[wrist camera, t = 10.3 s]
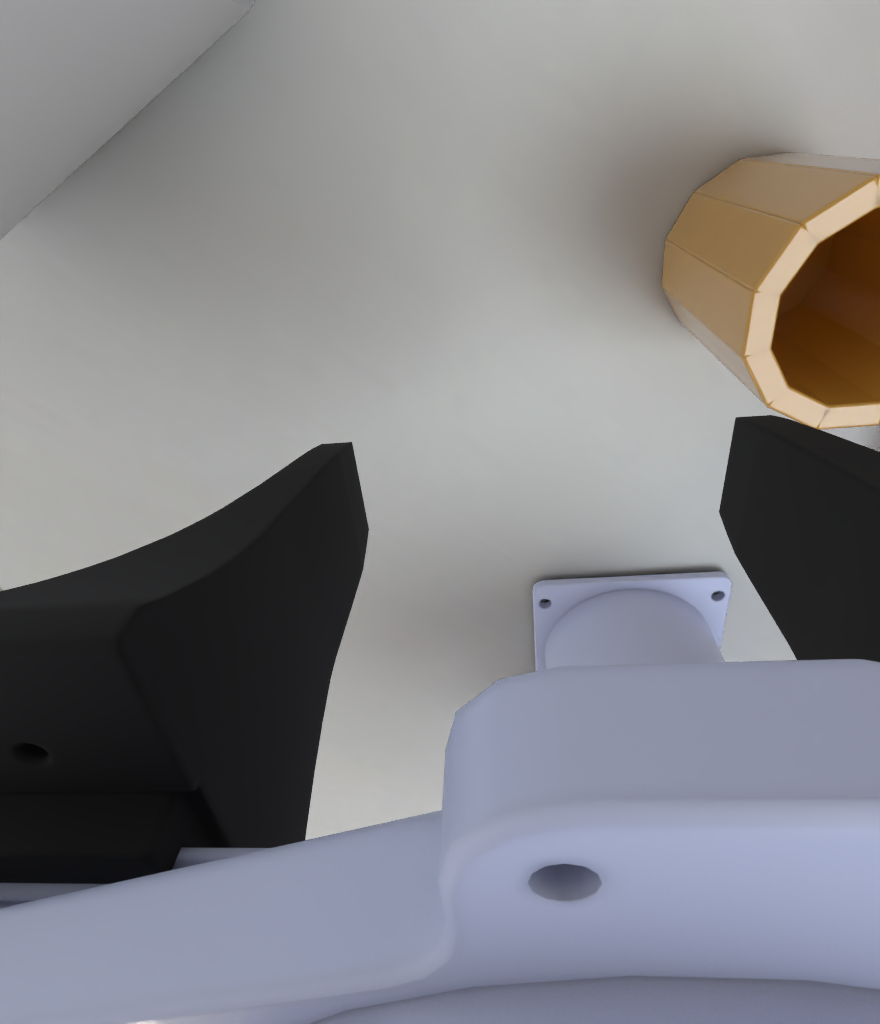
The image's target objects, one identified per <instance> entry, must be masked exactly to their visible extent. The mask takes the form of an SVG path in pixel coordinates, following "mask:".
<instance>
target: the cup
mask: <svg viewBox="0 0 880 1024" xmlns="http://www.w3.org/2000/svg"><path fill="white" fill-rule="evenodd" d="M662 287H663V291H664V293H665V294H666V296H667V298H668V300H669V302H670V304H671V306H672V308H673V310H674V312H675V314H676V316H677V317H678V319H679V321H680V323H682V325H683V326H684V327H686V328H687V329H688V330H689V331H690V332H691V333H692V334H693V335H694V336H695V337H696V338H697V339H698V340H699V341H700V342H701V343H702V344H703V345H704V346H705V347H706V348H707V349H708V350H709V351H710V352H711V353H712V354H713V355H714V356H715V357H716V358H717V359H718V360H719V361H720V362H721V363H722V364H723V365H724V366H726V367H727V368H728V369H729V370H730V371H731V372H732V373H733V374H734V375H735V376H736V377H737V378H738V379H739V380H740V381H741V382H742V383H743V384H744V385H745V386H746V387H747V388H748V389H749V390H750V391H751V392H752V393H753V394H754V395H755V396H756V397H757V398H758V399H759V400H760V401H761V402H762V403H763V404H765V405H766V406H767V407H768V408H770V409H772V410H774V411H776V412H778V413H781V414H783V415H785V416H787V417H789V418H791V419H793V420H795V421H797V422H799V423H802V424H805V425H808V426H810V427H813V428H816V429H833V428H846V427H860V426H874V425H879V424H880V159H869V158H856V157H843V156H830V155H817V154H804V153H791V152H790V153H782V154H774V155H766V156H757V157H749V158H743V159H742V160H738V161H737V162H735V163H734V164H732V165H731V166H730V167H728V168H727V169H725V170H724V171H722V172H721V173H720V174H718V175H717V176H715V177H714V178H712V179H711V180H710V181H708V182H707V183H705V184H704V185H702V186H701V187H699V188H698V189H697V190H696V191H695V192H694V193H693V194H692V195H691V197H690V199H689V200H688V202H687V204H686V206H685V207H684V209H683V211H682V212H681V214H680V216H679V217H678V219H677V221H676V222H675V224H674V226H673V227H672V229H671V231H670V232H669V234H668V236H667V239H666V240H665V250H664V262H663V275H662Z"/></svg>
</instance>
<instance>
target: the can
mask: <svg viewBox="0 0 880 1024" xmlns="http://www.w3.org/2000/svg"><path fill="white" fill-rule="evenodd" d="M254 1H255V0H0V239H2V238H3V237H4V236H5V235H6V234H7V233H8V232H9V231H10V230H11V229H12V228H14V227H15V226H16V225H17V224H18V223H19V222H20V221H21V220H22V219H23V218H24V217H26V216H27V215H28V214H29V213H30V212H31V211H32V210H33V209H34V208H35V207H36V206H37V205H39V204H40V203H41V202H42V201H43V200H44V199H45V198H46V197H47V196H48V195H49V194H51V193H52V192H53V191H54V190H55V189H56V188H57V187H58V186H59V185H60V184H61V183H63V182H64V181H65V180H66V179H67V178H68V177H69V176H70V175H71V174H72V173H73V172H75V171H76V170H77V169H78V168H79V167H80V166H81V165H82V164H83V163H84V162H85V161H86V160H88V159H89V158H90V157H91V156H92V155H93V154H94V153H95V152H96V151H97V150H98V149H100V148H101V147H102V146H103V145H104V144H105V143H106V142H107V141H108V140H109V139H110V138H112V137H113V136H114V135H115V134H116V133H117V132H118V131H119V130H120V129H121V128H122V127H124V126H125V125H126V124H127V123H128V122H129V121H130V120H131V119H132V118H133V117H134V116H136V115H137V114H138V113H139V112H140V111H141V110H142V109H143V108H144V107H145V106H146V105H147V104H149V103H150V102H151V101H152V100H153V99H154V98H155V97H156V96H157V95H158V94H159V93H161V92H162V91H163V90H164V89H165V88H166V87H167V86H168V85H169V84H170V83H171V82H173V81H174V80H175V79H176V78H177V77H178V76H179V75H180V74H181V73H182V72H183V71H185V70H186V69H187V68H188V67H189V66H190V65H191V64H192V63H193V62H194V61H195V60H196V59H198V58H199V57H200V56H201V55H202V54H203V53H204V52H205V51H206V50H207V49H208V48H210V47H211V46H212V45H213V44H214V43H215V42H216V41H217V40H218V39H219V38H220V37H222V36H223V35H224V34H225V33H226V32H227V31H228V30H229V29H230V28H231V27H232V26H234V25H235V24H236V23H237V22H238V21H239V20H240V19H241V18H242V17H243V16H244V15H245V14H247V13H248V12H249V11H250V9H251V7H252V5H253V3H254Z"/></svg>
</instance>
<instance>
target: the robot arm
mask: <svg viewBox="0 0 880 1024" xmlns="http://www.w3.org/2000/svg"><path fill="white" fill-rule="evenodd" d="M719 513H720V516H721V518H722V521H723V524H724V527H725V530H726V532H727V535H728V537H729V540H730V542H731V545H732V547H733V550H734V552H735V554H736V556H737V558H738V560H739V561H740V563H741V565H742V567H743V568H744V570H745V572H746V574H747V575H748V577H749V579H750V580H751V582H752V584H753V585H754V587H755V589H756V590H757V592H758V594H759V595H760V597H761V599H762V600H763V602H764V604H765V605H766V607H767V609H768V610H769V612H770V614H771V615H772V617H773V619H774V620H775V622H776V624H777V625H778V627H779V629H780V630H781V632H782V634H783V635H784V637H785V639H786V640H787V642H788V644H789V646H790V647H791V649H792V651H793V653H794V655H795V657H796V659H797V660H789V661H750V662H725V660H724V658H723V656H722V654H721V652H720V647H721V642H722V636H723V631H724V626H725V620H726V615H727V610H728V604H729V599H730V594H731V588H732V581H731V579H730V577H729V576H728V575H727V574H726V573H724V572H699V573H679V574H659V575H638V576H618V577H598V578H578V579H558V580H543V581H539V582H537V583H536V584H535V585H534V586H533V590H532V592H533V618H534V644H535V672H531V673H526V674H521V675H517V676H512V677H507V678H503V679H500V680H498V681H496V682H495V683H494V684H492V685H491V686H490V687H488V688H487V689H486V690H484V691H483V692H482V693H480V694H479V695H478V696H476V697H475V698H474V699H472V700H471V701H470V702H468V703H467V704H466V705H464V706H463V707H462V708H460V709H459V710H458V711H456V713H455V717H454V721H453V724H452V728H451V732H450V735H449V739H448V743H447V746H446V750H445V767H444V784H443V802H442V810H441V811H436V812H432V813H427V814H423V815H418V816H414V817H409V818H404V819H400V820H395V821H391V822H386V823H382V824H377V825H373V826H368V827H364V828H359V829H355V830H350V831H346V832H341V833H337V834H332V835H328V836H323V837H319V838H314V839H310V840H305V836H306V828H307V821H308V814H309V807H310V800H311V792H312V785H313V778H314V771H315V765H316V759H317V753H318V746H319V740H320V734H321V728H322V722H323V717H324V711H325V706H326V700H327V695H328V690H329V684H330V679H331V675H332V671H333V667H334V663H335V659H336V656H337V652H338V649H339V646H340V643H341V640H342V636H343V633H344V630H345V627H346V624H347V620H348V617H349V614H350V611H351V607H352V604H353V601H354V598H355V594H356V591H357V588H358V584H359V581H360V578H361V574H362V571H363V566H364V560H365V553H366V546H367V539H368V531H369V528H368V523H367V518H366V512H365V507H364V502H363V497H362V492H361V487H360V481H359V476H358V471H357V466H356V461H355V456H354V450H353V445H352V442H348V443H333V444H321V445H319V446H317V447H315V448H313V449H311V450H310V451H308V452H307V453H305V454H304V455H302V456H301V457H299V458H298V459H296V460H295V461H293V462H292V463H290V464H289V465H288V466H286V467H285V468H283V469H282V470H280V471H279V472H278V473H276V474H275V475H273V476H272V477H270V478H269V479H267V480H266V481H265V482H263V483H262V484H260V485H259V486H257V487H255V488H254V489H252V490H251V491H249V492H247V493H246V494H244V495H243V496H241V497H240V498H238V499H236V500H235V501H233V502H232V503H230V504H228V505H227V506H225V507H224V508H222V509H220V510H218V511H217V512H215V513H213V514H211V515H210V516H208V517H206V518H204V519H202V520H200V521H198V522H196V523H194V524H192V525H190V526H188V527H186V528H184V529H182V530H180V531H178V532H176V533H174V534H172V535H170V536H167V537H165V538H163V539H160V540H158V541H155V542H153V543H150V544H148V545H146V546H143V547H141V548H138V549H136V550H133V551H131V552H129V553H126V554H124V555H121V556H119V557H116V558H113V559H110V560H107V561H104V562H102V563H99V564H96V565H93V566H90V567H87V568H84V569H81V570H77V571H74V572H71V573H68V574H64V575H61V576H58V577H55V578H51V579H47V580H44V581H40V582H37V583H33V584H29V585H25V586H21V587H17V588H13V589H9V590H5V591H1V592H0V1024H880V452H878V451H875V450H873V449H870V448H867V447H864V446H862V445H859V444H856V443H853V442H851V441H848V440H845V439H843V438H840V437H837V436H835V435H832V434H829V433H827V432H824V431H821V430H819V429H816V428H813V427H810V426H808V425H805V424H802V423H799V422H796V421H792V420H789V419H786V418H782V417H777V416H772V415H767V416H752V417H736V419H735V425H734V431H733V436H732V442H731V448H730V453H729V459H728V465H727V470H726V476H725V482H724V487H723V493H722V499H721V504H720V510H719ZM717 591H721V592H720V593H718V594H715V595H712V594H713V593H714V592H717ZM543 599H548V600H549V601H548V602H545V603H544V602H541V600H543Z"/></svg>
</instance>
